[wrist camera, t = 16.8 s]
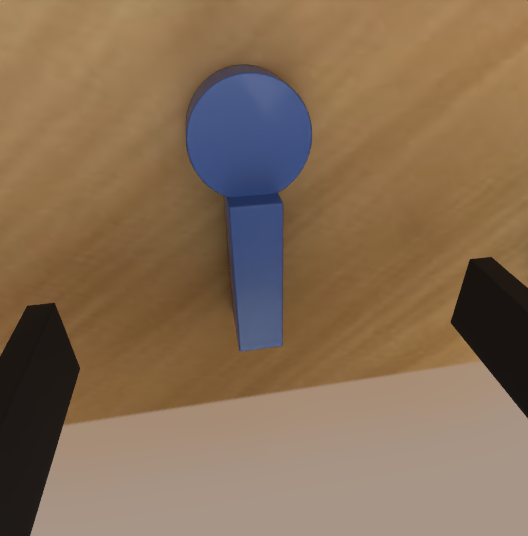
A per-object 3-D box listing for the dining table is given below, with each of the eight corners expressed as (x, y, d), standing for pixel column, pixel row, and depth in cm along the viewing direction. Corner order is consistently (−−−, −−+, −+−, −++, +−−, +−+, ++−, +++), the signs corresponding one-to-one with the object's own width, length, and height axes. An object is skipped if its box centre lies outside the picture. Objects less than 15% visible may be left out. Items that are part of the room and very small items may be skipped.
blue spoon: (295, 305, 19) (309, 343, 17) (209, 315, 19) (212, 356, 16) (300, 61, 13) (323, 72, 11) (178, 67, 13) (176, 79, 11)
